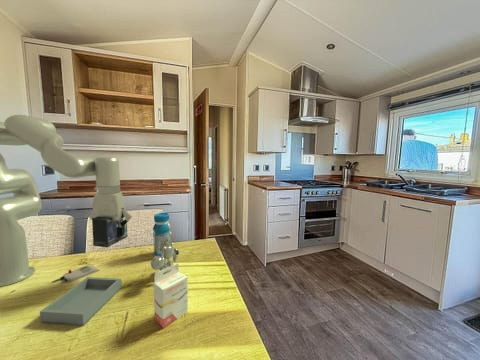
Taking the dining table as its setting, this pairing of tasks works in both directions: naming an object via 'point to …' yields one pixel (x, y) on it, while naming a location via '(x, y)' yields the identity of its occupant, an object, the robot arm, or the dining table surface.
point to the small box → (106, 232)
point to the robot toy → (164, 256)
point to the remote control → (78, 273)
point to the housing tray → (81, 301)
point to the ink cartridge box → (170, 295)
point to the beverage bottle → (161, 231)
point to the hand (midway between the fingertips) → (111, 235)
